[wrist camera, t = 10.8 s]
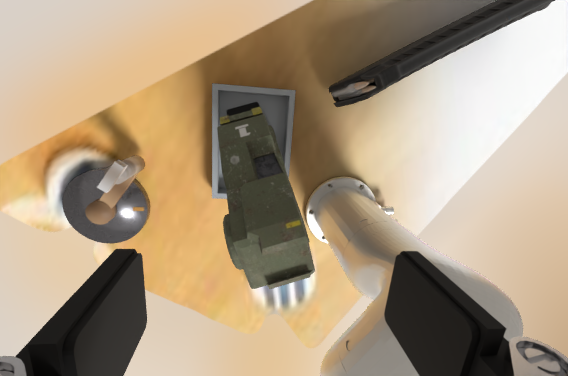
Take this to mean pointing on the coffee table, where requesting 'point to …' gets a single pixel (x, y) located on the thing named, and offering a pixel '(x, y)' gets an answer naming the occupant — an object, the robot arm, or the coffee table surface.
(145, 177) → the coffee table surface
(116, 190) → the crank
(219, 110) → the tray
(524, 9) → the magazine
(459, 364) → the robot arm
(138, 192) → the crank base
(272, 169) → the mechanical leg
